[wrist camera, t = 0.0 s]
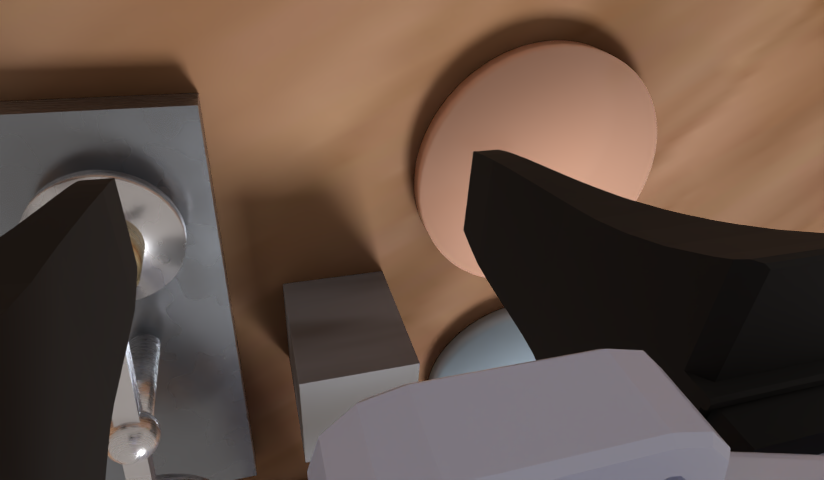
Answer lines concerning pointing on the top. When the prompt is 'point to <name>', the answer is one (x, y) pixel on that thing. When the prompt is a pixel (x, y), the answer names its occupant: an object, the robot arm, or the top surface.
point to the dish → (535, 131)
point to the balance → (148, 272)
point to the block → (343, 347)
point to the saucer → (483, 347)
